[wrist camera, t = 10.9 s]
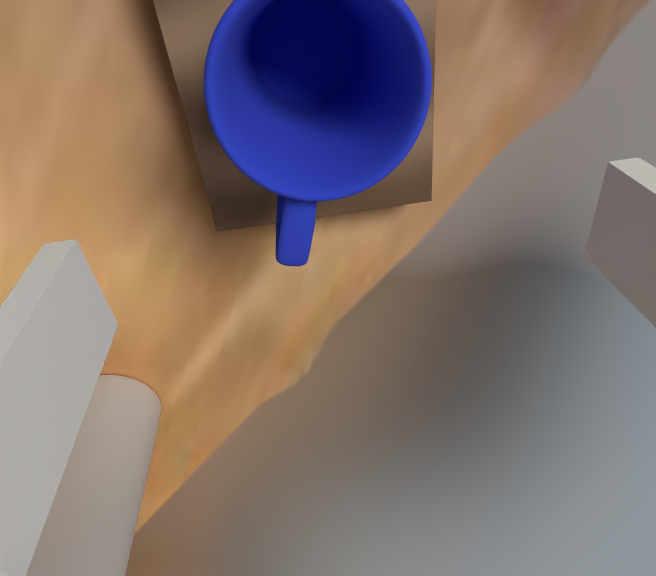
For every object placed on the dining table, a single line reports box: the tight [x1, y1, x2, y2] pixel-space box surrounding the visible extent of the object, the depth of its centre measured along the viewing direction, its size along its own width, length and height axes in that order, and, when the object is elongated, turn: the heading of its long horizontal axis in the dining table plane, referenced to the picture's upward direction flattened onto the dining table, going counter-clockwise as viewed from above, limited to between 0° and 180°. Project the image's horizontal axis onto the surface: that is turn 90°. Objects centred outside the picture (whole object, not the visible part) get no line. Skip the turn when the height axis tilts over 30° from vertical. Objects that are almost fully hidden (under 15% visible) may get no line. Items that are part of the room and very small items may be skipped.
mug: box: [204, 0, 432, 266], centre depth 22 cm, size 8×12×10 cm
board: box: [153, 0, 436, 231], centre depth 28 cm, size 16×14×4 cm
